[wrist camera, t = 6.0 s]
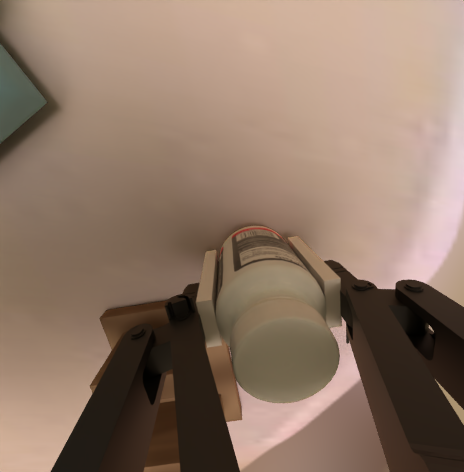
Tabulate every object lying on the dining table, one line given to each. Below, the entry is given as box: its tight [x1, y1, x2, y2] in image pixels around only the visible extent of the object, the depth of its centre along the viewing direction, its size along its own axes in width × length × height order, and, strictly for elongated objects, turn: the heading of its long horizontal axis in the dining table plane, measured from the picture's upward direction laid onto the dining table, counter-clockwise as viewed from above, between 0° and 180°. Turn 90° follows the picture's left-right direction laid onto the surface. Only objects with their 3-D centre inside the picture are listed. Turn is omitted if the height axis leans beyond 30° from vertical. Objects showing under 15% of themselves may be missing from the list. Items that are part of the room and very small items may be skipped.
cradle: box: [90, 300, 242, 472], centre depth 19 cm, size 14×10×7 cm
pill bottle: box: [215, 226, 340, 403], centre depth 13 cm, size 5×5×10 cm
